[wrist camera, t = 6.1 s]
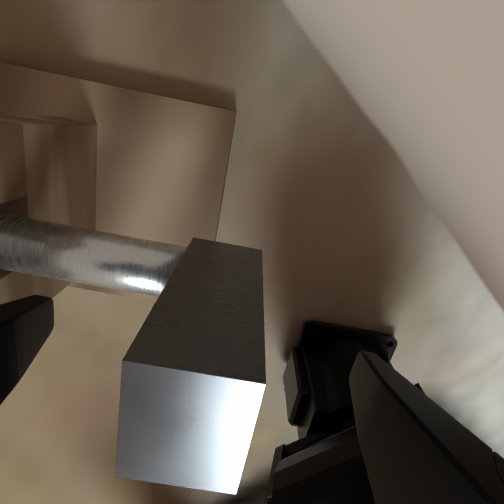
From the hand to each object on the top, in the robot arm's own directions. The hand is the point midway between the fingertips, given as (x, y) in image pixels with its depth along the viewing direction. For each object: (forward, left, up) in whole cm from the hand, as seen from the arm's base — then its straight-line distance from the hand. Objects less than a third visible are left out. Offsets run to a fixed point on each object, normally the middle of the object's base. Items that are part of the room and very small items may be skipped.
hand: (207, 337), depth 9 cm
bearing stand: (+7, 0, -12) cm, 14 cm away
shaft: (+4, 0, -5) cm, 6 cm away
